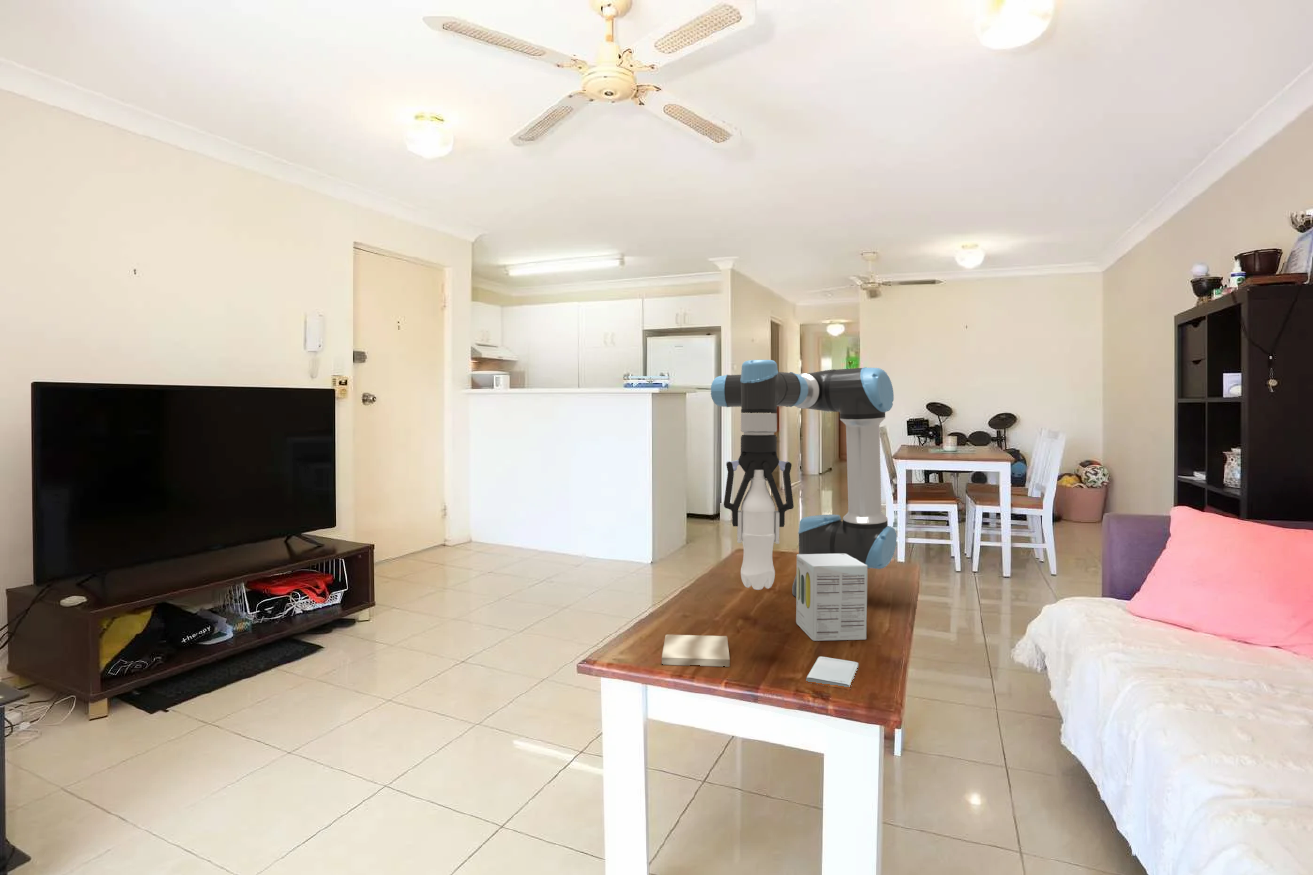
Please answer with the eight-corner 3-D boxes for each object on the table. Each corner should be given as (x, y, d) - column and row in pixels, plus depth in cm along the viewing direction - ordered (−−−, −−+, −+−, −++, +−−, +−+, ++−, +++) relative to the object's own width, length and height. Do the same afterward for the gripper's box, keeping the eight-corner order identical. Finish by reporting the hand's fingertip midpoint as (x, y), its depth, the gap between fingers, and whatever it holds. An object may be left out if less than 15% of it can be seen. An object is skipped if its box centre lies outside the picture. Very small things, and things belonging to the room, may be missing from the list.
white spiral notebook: (849, 684, 120) (858, 661, 131) (806, 676, 124) (818, 655, 135) (849, 693, 120) (858, 669, 131) (805, 685, 124) (818, 662, 135)
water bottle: (753, 593, 130) (754, 471, 130) (734, 584, 137) (734, 468, 136) (781, 588, 134) (782, 469, 133) (761, 580, 140) (761, 467, 139)
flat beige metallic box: (726, 642, 145) (727, 636, 145) (729, 666, 131) (729, 659, 131) (665, 641, 146) (665, 634, 146) (661, 664, 132) (661, 657, 132)
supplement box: (794, 623, 159) (795, 553, 159) (845, 621, 161) (846, 552, 160) (812, 641, 146) (813, 565, 146) (867, 640, 147) (868, 564, 147)
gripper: (804, 433, 137) (803, 539, 138) (710, 433, 139) (710, 537, 139) (809, 434, 130) (808, 546, 131) (711, 434, 131) (710, 544, 132)
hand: (757, 541), depth 135 cm, fingers closed on water bottle, 7 cm apart
